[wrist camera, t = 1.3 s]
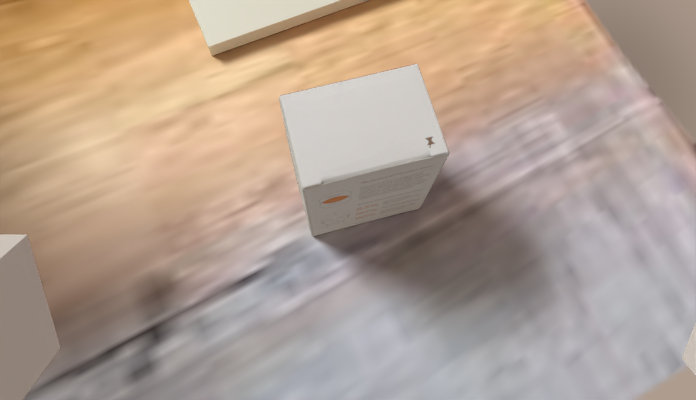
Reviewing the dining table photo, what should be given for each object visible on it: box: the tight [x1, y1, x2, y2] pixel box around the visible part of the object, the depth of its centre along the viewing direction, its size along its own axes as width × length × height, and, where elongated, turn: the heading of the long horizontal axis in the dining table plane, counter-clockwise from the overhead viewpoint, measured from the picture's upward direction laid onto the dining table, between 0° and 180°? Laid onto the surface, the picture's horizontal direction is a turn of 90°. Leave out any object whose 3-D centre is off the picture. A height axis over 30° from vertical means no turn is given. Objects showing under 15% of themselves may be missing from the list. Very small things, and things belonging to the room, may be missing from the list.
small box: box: [279, 64, 449, 236], centre depth 32 cm, size 8×6×10 cm
